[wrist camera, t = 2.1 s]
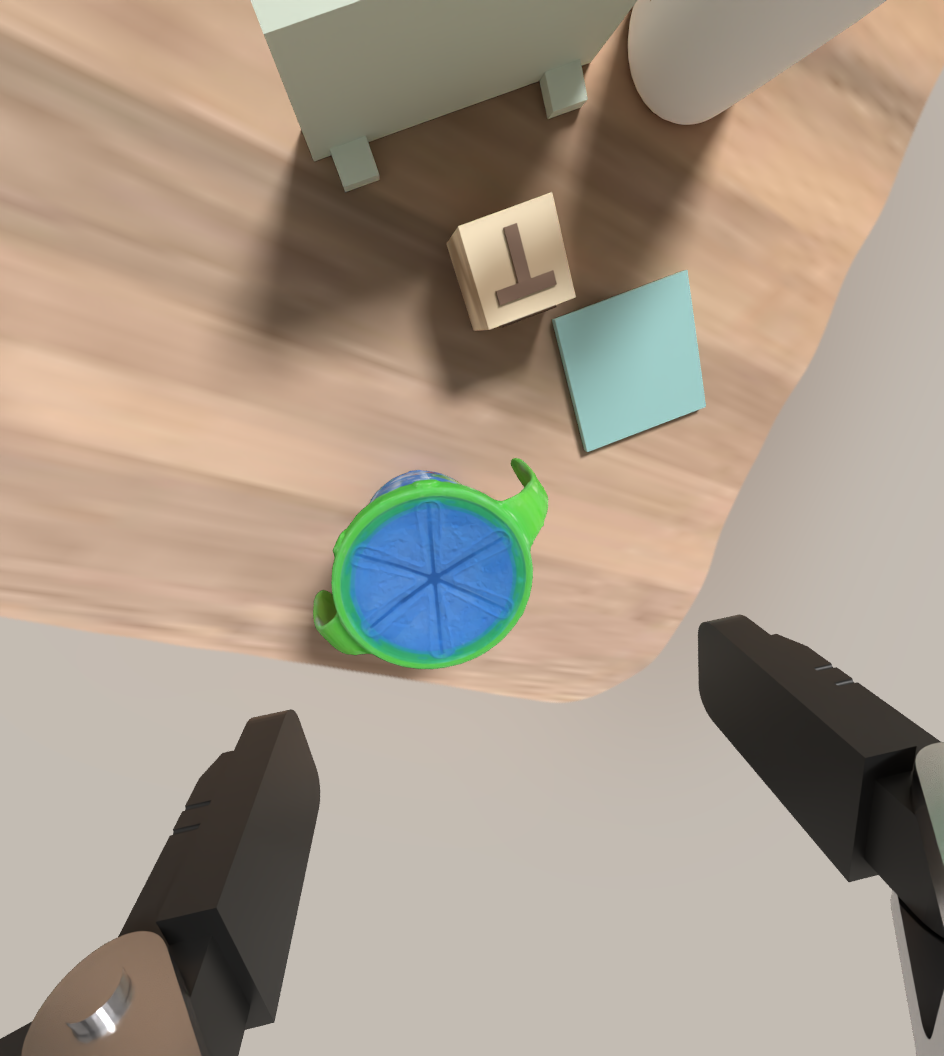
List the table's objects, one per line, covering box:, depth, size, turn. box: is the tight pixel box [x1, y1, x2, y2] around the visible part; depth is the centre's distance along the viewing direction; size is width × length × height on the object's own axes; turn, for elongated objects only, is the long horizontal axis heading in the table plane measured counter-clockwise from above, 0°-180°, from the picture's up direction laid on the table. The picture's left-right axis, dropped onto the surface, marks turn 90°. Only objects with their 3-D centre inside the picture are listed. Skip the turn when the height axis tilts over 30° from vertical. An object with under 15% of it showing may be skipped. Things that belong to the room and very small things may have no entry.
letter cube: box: [446, 192, 576, 331], centre depth 27 cm, size 5×5×5 cm
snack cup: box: [313, 458, 548, 669], centre depth 30 cm, size 16×10×10 cm
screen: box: [251, 0, 637, 192], centre depth 21 cm, size 5×16×12 cm, turn 109°
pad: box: [552, 270, 706, 452], centre depth 33 cm, size 9×9×1 cm
